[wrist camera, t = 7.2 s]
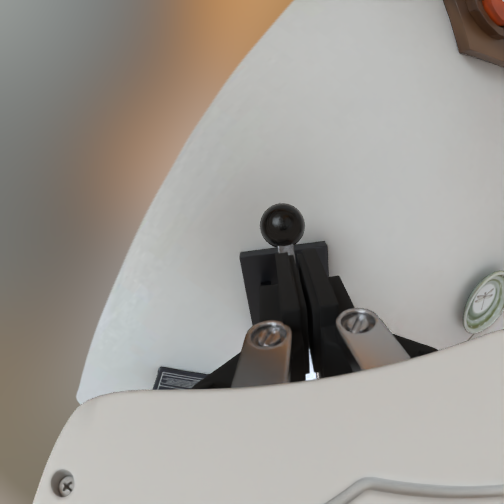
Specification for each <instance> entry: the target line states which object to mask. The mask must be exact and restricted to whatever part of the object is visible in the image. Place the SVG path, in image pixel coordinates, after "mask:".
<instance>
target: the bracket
mask: <svg viewBox="0 0 504 504" xmlns="http://www.w3.org/2000/svg"><path fill="white" fill-rule="evenodd" d="M293 246H294V253H295V261H296V267H297V271H298V275H299V270H298V259H297V254H302V250H306V249H314V248H315V249H316V251H317V254H318V256H319V258H320V261H321V263H322V265H323V267H324V270H325V272H326V274H327V277H329V271H328V248H327V245H326V243H325V241H322V242H315V243H307V244H300V245H293ZM276 253H278V248H270V249H262V250H255V251H247V252H241V253H240V262H241V268H242V273H243V278H244V283H245V288H246V294H247V299H248V304H249V309H250V314H251V319H252V324H253V326H254V325H256V324H257V323H260V286H267V285H275V284H278V276H277V268H276V260H275V254H276ZM318 373H319V372H318ZM319 378H320V373H319Z"/></svg>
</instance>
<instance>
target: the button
mask: <svg viewBox="0 0 504 504" xmlns="http://www.w3.org/2000/svg"><path fill="white" fill-rule="evenodd" d="M482 4H483V7H484V9H485V11H486V12H487V14H488V16H489V17H490V19H491V20H492V21H493V22H494V23H495V24H496V25H498V26H503V25H504V2H503V1H502V0H482Z"/></svg>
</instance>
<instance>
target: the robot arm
mask: <svg viewBox="0 0 504 504" xmlns="http://www.w3.org/2000/svg"><path fill="white" fill-rule="evenodd" d="M297 259H298V270H299V275H298V271H297V267H296V263H295V259H294V255H288V252H284V253H276V254H275V260H276V268H277V276H278V284H275V285H267V286H260V323H257V324H256V325H254V326H252V327H251V328H250V329H249V330H248V332H247V334H246V336H245V340H244V343H243V347H242V350H241V352H240V353H239V354H237V355H236V356H235V357H233V358H232V359H231V360H229V361H228V362H226V363H225V364H224V365H222V366H221V367H219V368H218V369H217V370H215V371H214V372H212V373H211V374H209V375H208V376H207V377H205V378H204V379H202V380H201V381H199V382H198V383H196V384H195V385H194V386H193V387H192V388H191V389H177V390H128V391H121V392H113V393H109V394H105V395H101V396H98V397H95V398H92V399H90V400H88V401H86V402H84V403H83V404H81V405H80V406H79V407H78V408H77V409H76V410H75V411H74V412H73V414H72V415H71V416H70V418H69V419H68V421H67V423H66V424H65V426H64V428H63V429H62V431H61V433H60V435H59V437H58V439H57V441H56V443H55V446H54V448H53V450H52V452H51V454H50V457H49V459H48V461H47V464H46V467H45V469H44V472H43V475H42V478H41V480H40V483H39V486H38V489H37V493H36V495H35V499H34V502H33V504H504V329H503V330H499V331H495V332H491V333H488V334H486V335H483V336H480V337H477V338H474V339H471V340H468V341H465V342H462V343H460V344H457V345H454V346H451V347H448V348H445V349H442V350H437V349H435V348H433V347H430V346H427V345H424V344H421V343H418V342H415V341H412V340H409V339H406V338H403V337H400V336H398V335H395V334H392V333H391V332H390V330H389V329H388V328H387V327H386V325H385V324H384V323H383V322H382V320H381V319H380V318H379V317H378V315H376V314H375V313H374V312H372V311H370V310H368V309H364V308H354V306H353V304H352V301H351V299H350V297H349V295H348V293H347V291H346V289H345V287H344V285H343V283H342V281H341V279H340V277H339V276H333V277H327V274H326V272H325V270H324V267H323V265H322V263H321V261H320V258H319V256H318V254H317V251H316V249H315V248H314V249H306V250H302V254H297ZM309 349H310V354H311V359H312V365H313V370H314V373H316V372H319V373H320V379H313V380H306V374H309V373H310V362H309Z"/></svg>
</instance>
